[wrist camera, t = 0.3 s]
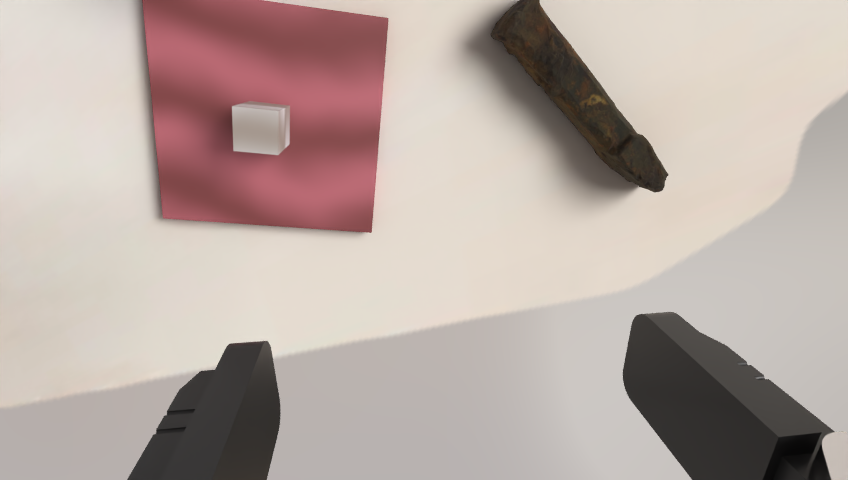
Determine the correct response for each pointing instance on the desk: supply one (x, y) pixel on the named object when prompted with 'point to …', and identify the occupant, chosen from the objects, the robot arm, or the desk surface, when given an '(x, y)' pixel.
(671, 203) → the desk surface
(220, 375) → the robot arm
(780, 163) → the desk surface
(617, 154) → the hand tool
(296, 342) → the desk surface
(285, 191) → the post base
